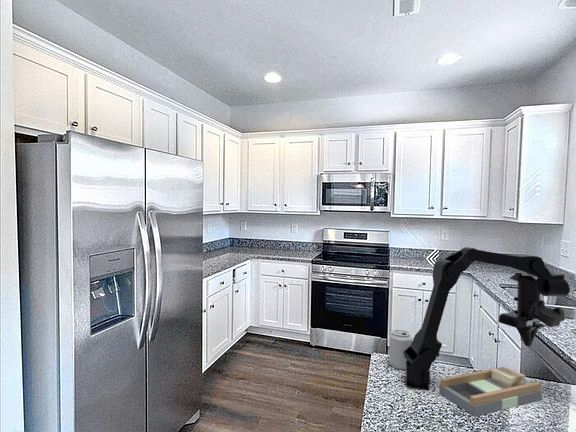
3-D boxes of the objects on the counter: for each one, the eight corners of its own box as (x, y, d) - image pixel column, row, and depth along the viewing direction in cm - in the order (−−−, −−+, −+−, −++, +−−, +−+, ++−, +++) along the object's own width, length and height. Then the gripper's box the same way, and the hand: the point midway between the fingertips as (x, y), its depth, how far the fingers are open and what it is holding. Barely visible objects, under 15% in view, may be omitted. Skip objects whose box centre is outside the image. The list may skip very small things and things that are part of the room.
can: (413, 372, 111) (413, 336, 111) (390, 369, 112) (390, 334, 112) (409, 362, 118) (410, 329, 118) (388, 360, 120) (388, 327, 120)
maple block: (510, 390, 95) (511, 378, 95) (491, 380, 100) (491, 369, 100) (525, 387, 97) (525, 375, 97) (505, 378, 102) (505, 366, 102)
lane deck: (474, 416, 86) (475, 399, 86) (439, 393, 97) (439, 378, 97) (541, 399, 95) (541, 384, 95) (502, 380, 106) (502, 366, 106)
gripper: (535, 304, 91) (534, 360, 91) (578, 299, 97) (577, 352, 97) (497, 295, 102) (497, 345, 101) (538, 291, 108) (538, 339, 108)
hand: (528, 346), depth 102 cm, fingers closed
